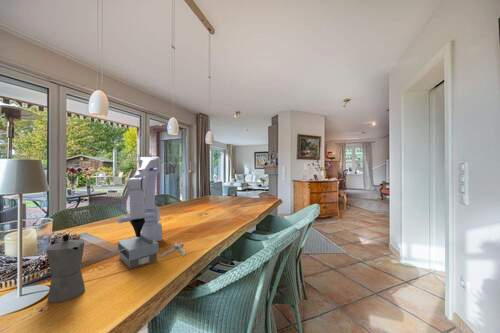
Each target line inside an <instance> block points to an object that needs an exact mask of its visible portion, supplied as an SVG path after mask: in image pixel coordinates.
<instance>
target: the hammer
mask: <svg viewBox="0 0 500 333" xmlns="http://www.w3.org/2000/svg"><path fill="white" fill-rule="evenodd" d="M183 244H184V243H183V242H182V241H181V242H180V243H179V244H178V242H175V243H174V247H173V248H171V249H168V250H166V251H165V252H163V253H162V254H161V255H160V259H163V257H165V256H166V255H167V254H168V255H169V254H171V253H174V252H175V250H176V252H178V253H182V257H183V256H184V255H185V256H186V250H185V249H183V248H182V247H183ZM185 256H184V257H185Z"/></svg>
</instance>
